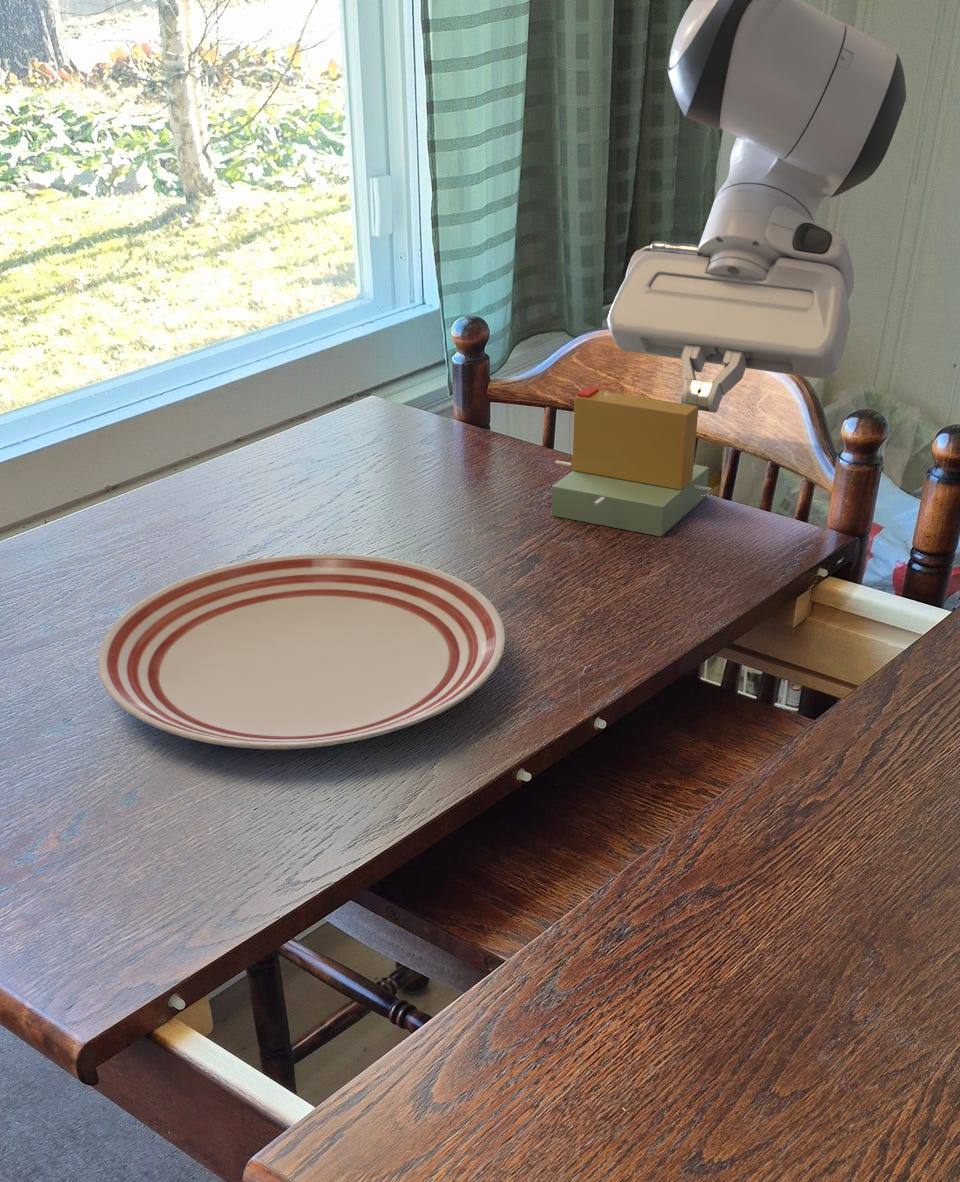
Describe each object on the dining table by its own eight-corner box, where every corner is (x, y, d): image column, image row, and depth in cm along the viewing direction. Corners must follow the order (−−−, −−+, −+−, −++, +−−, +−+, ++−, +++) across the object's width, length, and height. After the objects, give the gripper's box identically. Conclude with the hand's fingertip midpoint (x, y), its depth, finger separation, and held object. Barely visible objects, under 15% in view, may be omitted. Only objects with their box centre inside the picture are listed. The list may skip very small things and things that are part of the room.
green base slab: (738, 492, 124) (741, 461, 122) (674, 551, 115) (677, 518, 113) (589, 466, 129) (590, 435, 127) (517, 520, 120) (517, 488, 118)
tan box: (692, 480, 119) (699, 402, 115) (681, 490, 118) (688, 411, 114) (583, 461, 123) (586, 385, 119) (571, 470, 121) (574, 393, 117)
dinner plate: (407, 817, 85) (405, 768, 83) (23, 736, 93) (11, 689, 91) (560, 627, 104) (561, 583, 102) (230, 573, 112) (225, 531, 110)
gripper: (629, 215, 121) (575, 369, 121) (865, 240, 114) (807, 404, 114) (647, 262, 127) (595, 408, 127) (872, 288, 120) (817, 444, 120)
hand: (697, 407), depth 120 cm, fingers closed
